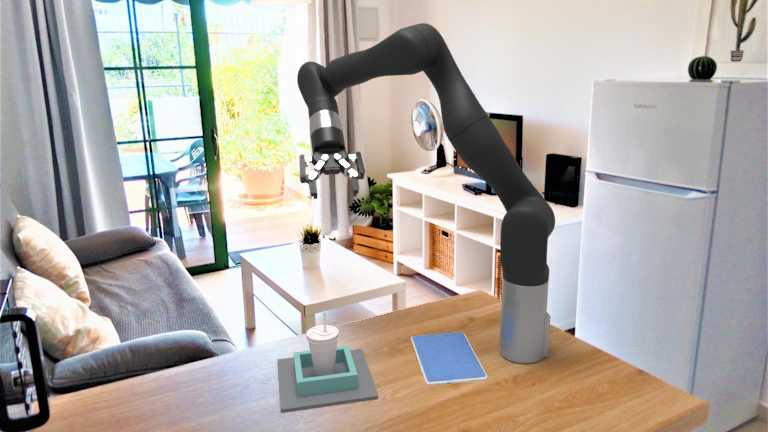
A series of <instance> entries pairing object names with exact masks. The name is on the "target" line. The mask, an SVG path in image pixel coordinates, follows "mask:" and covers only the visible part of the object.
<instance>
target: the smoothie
mask: <svg viewBox="0 0 768 432" xmlns="http://www.w3.org/2000/svg"><path fill="white" fill-rule="evenodd" d="M326 315H327V314H326V311H324V310H323V311H322V322H323V324H319V325H316V326H312V327H310V328H309V329H307V331H306V333H305V334H306V337H305V339H306V341H307V342H308V345H309V346H308V347H309V350H310V351H311V356H312V361H313V366H314V371H315V376H316V377H317V376H325V375H333V374H334V372H335V360H336V348H337V347H338V339H339V337H340V334H339V333H340V331H339V328H337V327H336V326H334V325H329V324H327V317H326Z"/></svg>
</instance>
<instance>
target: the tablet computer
mask: <svg viewBox="0 0 768 432" xmlns="http://www.w3.org/2000/svg"><path fill="white" fill-rule="evenodd" d="M467 337H468V336H466V333H465V332H462V331H457V332H455V331H454V332H445V333H443V332H442V333H433V334H432V333H431V334H421V335H413V336H411V337H410V341H411V344H412V345H411V346H412V347H413V350H414V353H415V357H416V358H417V362H418V366H419V368H420V371H421V374H422V377H423V379H424V383H425V385H426V386H438V385H440V386H441V385H449V384H451V385H452V384H463V383H473V382H474V383H475V382H476V383H477V382H486V381H488V379H489V376H488V374H487V373H486V371H485V369H484V367H483V365H482V363H481V361H480V359H479V358H478V356H477V354H476V352H475V350H474V349H473V347H472V345H471V343H470V341H469V339H468V338H467Z"/></svg>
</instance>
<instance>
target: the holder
mask: <svg viewBox="0 0 768 432" xmlns="http://www.w3.org/2000/svg"><path fill="white" fill-rule="evenodd" d="M277 371H278V372H277V373H278V374H277V375H278V386H279V399H280V400H279V402H280V412H281V413H288V412H294V411H302V410H307V409H308V410H309V409H315V408H323V407H329V406H336V405H337V406H338V405H342V404H343V405H344V404H352V403H356V402H364V401H365V402H366V401H371V400H378V399H379V394H378V391H377V388H376V386H375V383H374V379H373V377H372V374H371V371H370V367H369V365H368V362H367V359H366V356H365V354H364V352H363V348H359V349H358V348H356V349H350V347H349V345H343V346H342V345H341V346H337V348H336V360H335V372H334V374H333V375H325V376H317V377H316V376H315V371H314V366H313V361H312V356H311V351H310V349H309V350H304V351H303V350H301V351H295V352H294V351H293V357H286V358H277Z"/></svg>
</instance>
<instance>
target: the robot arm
mask: <svg viewBox="0 0 768 432" xmlns="http://www.w3.org/2000/svg"><path fill="white" fill-rule="evenodd" d="M422 72H423V73H424V75H425V76H427V78H428V79H429V81H430V83H431V84H432V87H433V88H434V89H435V91H436V93H437V97H438V99H439V106H440V113H441V120H442V126H443V130H444V133H445V136H446V138H447V140H448V141H449V142H450V144H451V146H452V147H453V149H454V150H455V153H456V154H457V155H458V157H459V158H460V159H461V161H462V162H463V163H464V164H465V165H466V166H467V167H468V168H469V169H470V170H471V171H472V172H473V173H474V174H476V175H477V176H478V177H479V178H480V179H482V180H483V181H484V182H485V183H486V184H487V185H488V186H489V187H490V188H491V189H492V190H493V192H494V193H495V194H496V196H497V198H498V199H499V201H500V202H501V204H502V207H504V209H505V211H506V213H505V214H504V216H503V218H502V221H501V227H500V238H499V239H500V241H499V242H500V243H499V245H500V250H499V252H500V253H499V254H500V255H499V259H500V266H501V269H502V283H501V286H502V287H501V307H500V308H501V309H500V329H499V330H500V333H499V353H500V356H502V357H503V358H504V359H506V360H508V361H511V362H514V363H518V364H533V363H537V362H539V361H541V360H542V359H543V358H547V357H549V344H550V330H551V329H550V328H551V315H550V314H549V313H548V296H549V295H548V294H549V281H550V266H549V265H548V262H547V261H548V243H549V241H548V240H549V238H550V236H551V235H552V233H553V231H554V229H555V228H556V227H555V226H556V216H555V212H554V211H553V208H552V207H551V206H550V204H549V203H548V202H547V200H546V199H545V198H544V196H543V195H542V194H541V193H540V192H539V190H538V189H537V188H536V187H535V185H534V184H533V182H531V180H530V179H529V178H528V177H527V176H526V174H525V172H524V171H523V170H522V168H521V166H520V164H519V163H518V162H517V160H516V157H515V156H514V155H513V153H512V152H511V150H510V148H509V147H508V144H507V143H506V142H505V140H504V139H503V137H502V135H501V134H500V132H499V130H498V128H497V126H496V125H495V124H494V122H493V121H492V119H491V118H490V115H489V114H488V113H487V111H486V110H485V109H484V108H483V106H482V105H481V102H479V100H478V98H477V96H476V94H475V93H474V92H473V90H472V89H471V87H470V85H469V84H468V81H466V79H465V77H464V76H463V74H462V72H461V71H460V68H459V67H458V64H457V62H456V61H455V59H454V56H453V55H452V53H451V51H450V49H449V46H448V45H447V43H446V41H445V39H444V37H443V36H442V34H441V33H440V31H438V29H437V28H436V27H434V26H433V24H429V23H427V22H424V23H418V24H413V25H410V26H405V27H403V28H402V27H401V28H400V29H398V30H397V31H395V32H393V33H392V34H391V35H388V36H387V37H386V38H384V39H382V40H381V41H380V42H378V43H377V44H375V45H373V46H371V47H369V48H366V49H363V50H359V51H354V52H351V53H350V52H349V53H348V54H344V55H343V56H339V57H337V58H335V59H332V60H330V61H329V62H328V63H327V65H326V67H325V66H324V65H321V64H320V63H318V62H315V61H306V62H304V63H303V64H301V66H300V67H299V69H298V72H297V80H296V82H297V85H298V86H297V87H298V89H299V92H300V94H301V96H302V98H303V101H304V103H305V105H306V106H307V111H308V119H309V138H310V144H311V150H312V155H311V156H305V154H299V160H298V161H299V163H298V165H299V181H300V183H301V184H305V183H306V184H308V187H309V195H310V197H313V200H317V199H318V187H317V180H319V179H320V177H321V176H322V175H324V176H330V175H339V174H341V175H342V176H344V177H345V178H347V179H349V181H350V185H351V193H352V197H357V194H359V192H360V183H359V180H364V179H365V174H366V168H365V165H364V160H363V157H362V152H360V151H355V153H353V154H349V153H348V152H347V148H346V143H345V136H344V131H343V125H342V122H341V121H342V120H341V119H340V118H341V117H340V113H339V106H338V102H337V100H336V98H335V97H337V96H338V95H339V94H340V93H342V92H343V91H344V90H346V89H348V88H351V87H354V86H358V85H361V84H364V83H367V82H368V81H371V80H373V79H375V78H376V79H377V78H381V77H391V76H393V77H394V76H412V75H416V74H419V73H422ZM349 161H350V162H352V164H353V165H355V167H356V170H355V169H353V168H352V166H351V164H350V163H349ZM310 164H312V165H313V167H314V168H313V170H312V172H311V173H310V174H307V173H306V171H307V169H306V168H307V167H309V165H310Z"/></svg>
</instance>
